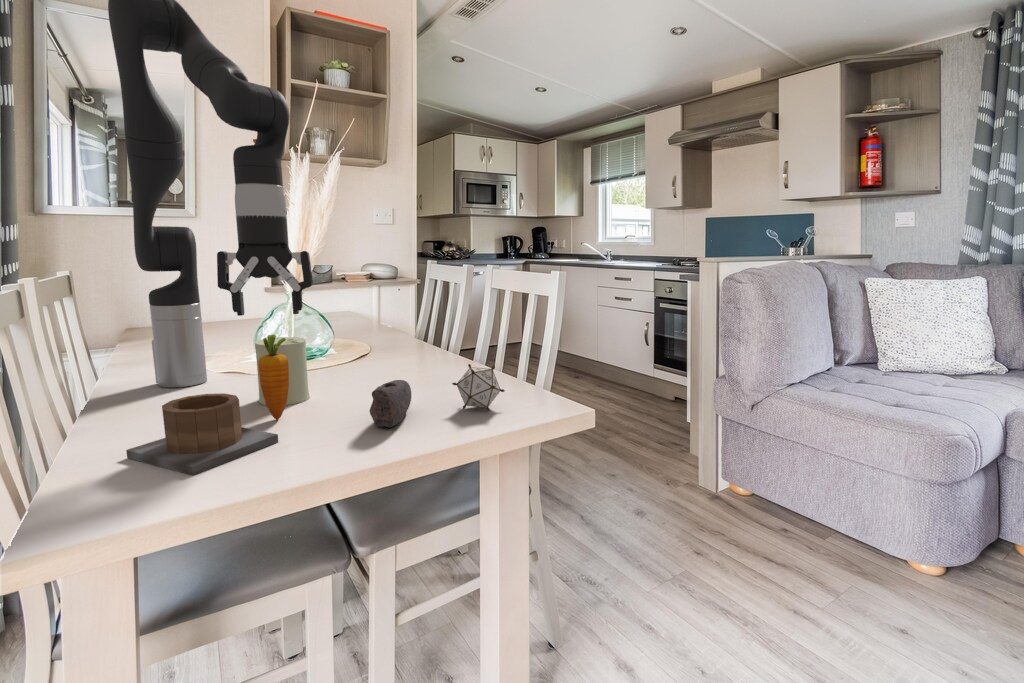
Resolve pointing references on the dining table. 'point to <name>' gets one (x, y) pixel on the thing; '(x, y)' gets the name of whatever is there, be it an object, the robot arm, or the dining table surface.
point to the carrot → (274, 377)
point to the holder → (201, 435)
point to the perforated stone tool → (390, 403)
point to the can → (297, 368)
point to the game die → (478, 387)
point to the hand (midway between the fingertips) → (269, 314)
